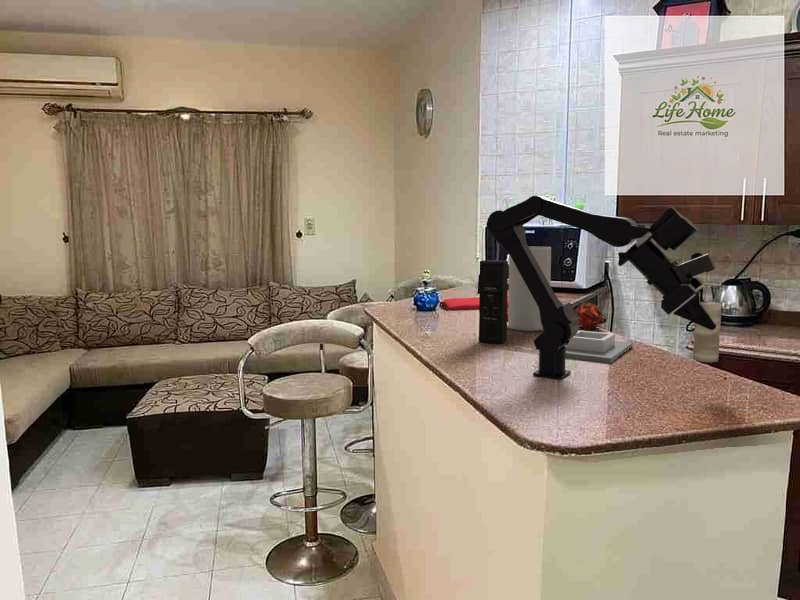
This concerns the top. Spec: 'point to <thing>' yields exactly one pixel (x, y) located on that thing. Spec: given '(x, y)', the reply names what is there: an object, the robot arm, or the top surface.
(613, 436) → the top surface
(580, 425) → the top surface
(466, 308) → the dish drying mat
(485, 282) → the portable radio
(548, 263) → the cylinder vase
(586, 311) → the dragon fruit
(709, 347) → the birch pin
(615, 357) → the socket board
